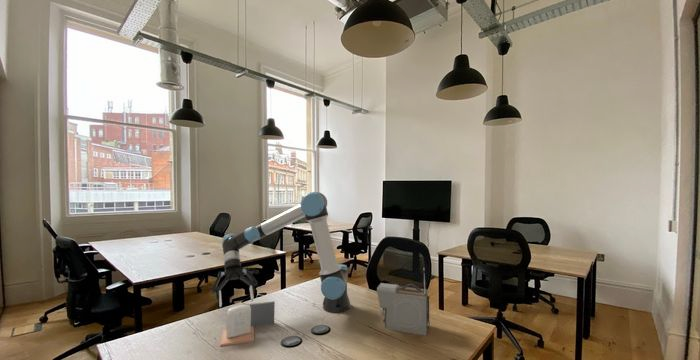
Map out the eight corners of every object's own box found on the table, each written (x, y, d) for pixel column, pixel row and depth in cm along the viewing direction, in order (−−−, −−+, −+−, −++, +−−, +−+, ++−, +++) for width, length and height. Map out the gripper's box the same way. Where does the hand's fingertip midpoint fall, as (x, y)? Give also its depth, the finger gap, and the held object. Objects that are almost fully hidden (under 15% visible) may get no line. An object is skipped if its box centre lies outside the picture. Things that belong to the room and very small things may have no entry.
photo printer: (249, 329, 131) (249, 301, 131) (251, 333, 127) (252, 304, 128) (225, 335, 125) (225, 306, 126) (227, 339, 122) (227, 309, 122)
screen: (274, 322, 140) (274, 301, 140) (274, 323, 138) (274, 302, 139) (243, 326, 135) (243, 304, 136) (243, 327, 134) (243, 305, 134)
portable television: (381, 318, 145) (381, 258, 146) (430, 325, 137) (429, 262, 138) (375, 328, 133) (375, 263, 135) (428, 337, 125) (427, 268, 127)
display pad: (253, 327, 134) (253, 325, 134) (253, 341, 122) (253, 339, 122) (223, 331, 130) (223, 329, 130) (220, 346, 118) (220, 344, 118)
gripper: (256, 263, 152) (263, 301, 138) (204, 269, 139) (205, 312, 126) (259, 254, 147) (266, 293, 134) (205, 261, 135) (206, 304, 121)
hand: (237, 302), depth 130 cm, fingers open, 13 cm apart
